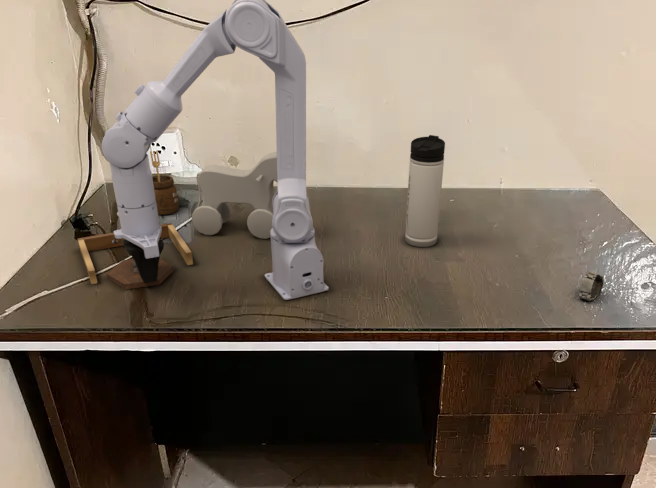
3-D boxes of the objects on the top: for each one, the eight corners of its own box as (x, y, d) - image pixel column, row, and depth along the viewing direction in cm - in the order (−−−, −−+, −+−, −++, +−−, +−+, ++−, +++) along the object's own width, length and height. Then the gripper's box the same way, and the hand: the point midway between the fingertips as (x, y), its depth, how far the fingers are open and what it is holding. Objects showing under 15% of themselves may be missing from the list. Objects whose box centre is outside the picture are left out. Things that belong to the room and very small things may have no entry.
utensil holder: (153, 217, 129) (144, 160, 123) (147, 207, 133) (138, 152, 127) (182, 213, 131) (174, 157, 125) (175, 203, 136) (168, 149, 130)
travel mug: (441, 237, 123) (450, 137, 113) (430, 250, 118) (439, 146, 108) (412, 231, 126) (418, 132, 116) (400, 243, 120) (405, 141, 110)
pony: (301, 224, 128) (299, 143, 119) (291, 245, 119) (288, 158, 110) (206, 218, 129) (197, 137, 121) (189, 238, 120) (178, 152, 112)
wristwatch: (595, 306, 104) (605, 279, 104) (587, 296, 100) (598, 268, 100) (577, 302, 106) (588, 275, 106) (569, 291, 102) (580, 264, 102)
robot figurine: (173, 258, 112) (164, 195, 106) (178, 282, 105) (168, 215, 99) (107, 267, 109) (94, 202, 103) (107, 291, 101) (93, 223, 95)
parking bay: (193, 264, 110) (191, 251, 109) (91, 284, 103) (88, 271, 102) (173, 234, 121) (171, 222, 120) (79, 250, 114) (77, 238, 113)
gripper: (101, 191, 99) (116, 267, 106) (117, 223, 88) (133, 305, 95) (146, 184, 102) (158, 259, 109) (168, 215, 91) (179, 295, 98)
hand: (149, 280), depth 102 cm, fingers closed
